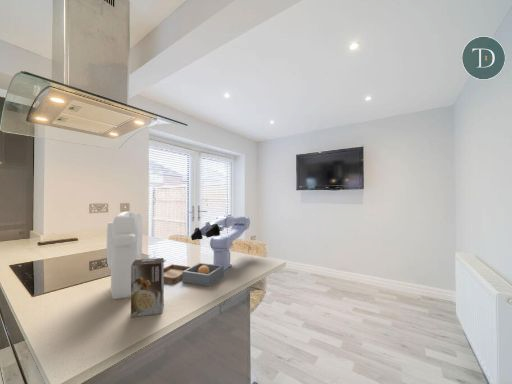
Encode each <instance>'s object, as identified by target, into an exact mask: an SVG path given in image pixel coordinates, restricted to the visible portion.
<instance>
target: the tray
mask: <svg viewBox="0 0 512 384" xmlns="http://www.w3.org/2000/svg"><path fill="white" fill-rule="evenodd" d="M190 267H191V266H187V265H182V264H181V265H179V264H170V265H168V266H164V283H165V284H171V285H174V284H176V283H179V282H180V281H182V271H184V270H186V269H188V268H190Z"/></svg>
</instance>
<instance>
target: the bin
mask: <svg viewBox="0 0 512 384" xmlns="http://www.w3.org/2000/svg"><path fill="white" fill-rule="evenodd" d="M203 265H205V266H207V267H208V268H209V274H203V273H198V269H199V268H200V267H201V266H203ZM189 267H190V268H188V269H186V270H184V271H182V280H181V282H182V283H184V284H186V283H187V284H191V285H199V286H204V287H211V285H213V284H214V283H216V282H217V281H218V280H219V279H221V278H222V277H224V271H223V269H224V266H221V265H213V264H212V263H211V264H210V263H205V262H204V263H202V262H198V263H196V264H194V265H192V266H189Z"/></svg>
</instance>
